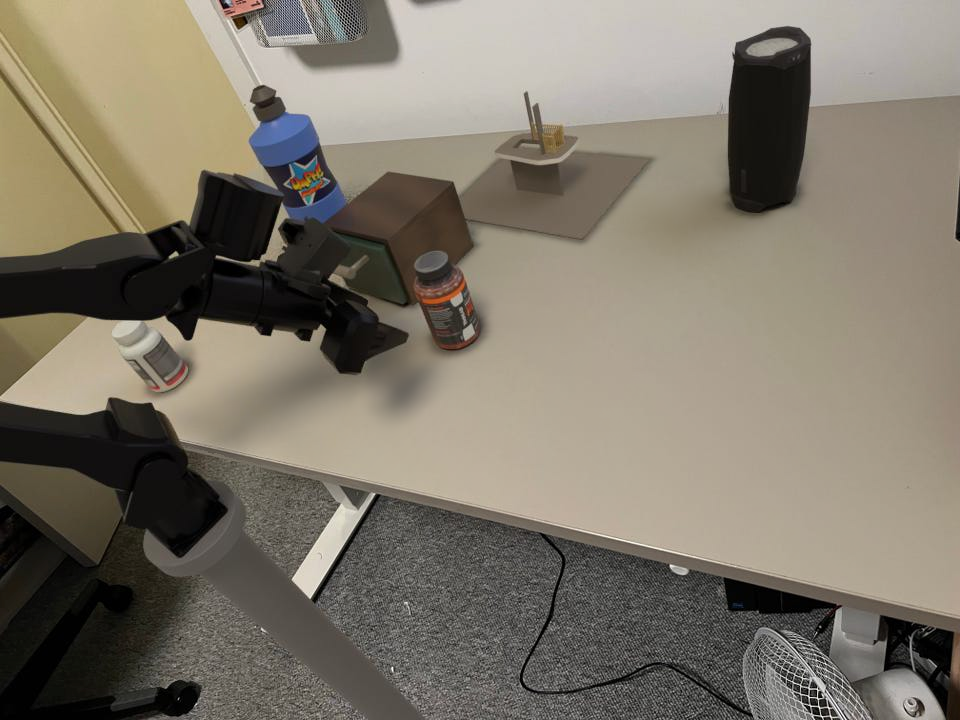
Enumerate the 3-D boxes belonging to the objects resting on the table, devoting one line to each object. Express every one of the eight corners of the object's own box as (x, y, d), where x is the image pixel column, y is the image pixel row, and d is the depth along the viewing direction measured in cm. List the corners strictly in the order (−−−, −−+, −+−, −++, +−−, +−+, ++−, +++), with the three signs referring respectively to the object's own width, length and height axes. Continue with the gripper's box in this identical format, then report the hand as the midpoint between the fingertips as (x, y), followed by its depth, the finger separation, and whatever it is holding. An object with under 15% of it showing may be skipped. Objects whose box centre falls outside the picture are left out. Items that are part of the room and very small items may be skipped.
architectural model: (513, 147, 109) (495, 65, 100) (649, 159, 96) (642, 65, 86) (442, 215, 99) (414, 130, 90) (582, 239, 85) (566, 142, 76)
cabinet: (414, 305, 84) (386, 239, 77) (352, 285, 91) (321, 223, 84) (473, 246, 91) (453, 181, 84) (411, 232, 98) (387, 171, 91)
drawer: (382, 324, 81) (357, 270, 76) (326, 304, 88) (298, 253, 82) (459, 250, 89) (441, 195, 83) (402, 236, 96) (382, 185, 90)
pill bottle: (189, 359, 88) (147, 306, 82) (189, 383, 84) (145, 329, 78) (152, 375, 88) (107, 323, 81) (150, 399, 84) (103, 347, 77)
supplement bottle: (487, 340, 75) (462, 265, 68) (440, 358, 75) (410, 284, 68) (474, 312, 80) (449, 238, 72) (430, 329, 80) (400, 257, 72)
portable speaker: (768, 171, 86) (780, 17, 73) (816, 199, 79) (838, 36, 66) (711, 193, 85) (713, 43, 72) (754, 224, 78) (764, 65, 65)
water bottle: (368, 237, 100) (299, 80, 83) (316, 265, 98) (235, 109, 81) (348, 217, 107) (280, 67, 90) (298, 242, 105) (220, 94, 88)
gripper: (317, 248, 51) (460, 284, 62) (241, 187, 64) (371, 226, 74) (276, 370, 54) (420, 384, 65) (212, 288, 66) (341, 312, 77)
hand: (386, 320), depth 70 cm, fingers open, 9 cm apart
